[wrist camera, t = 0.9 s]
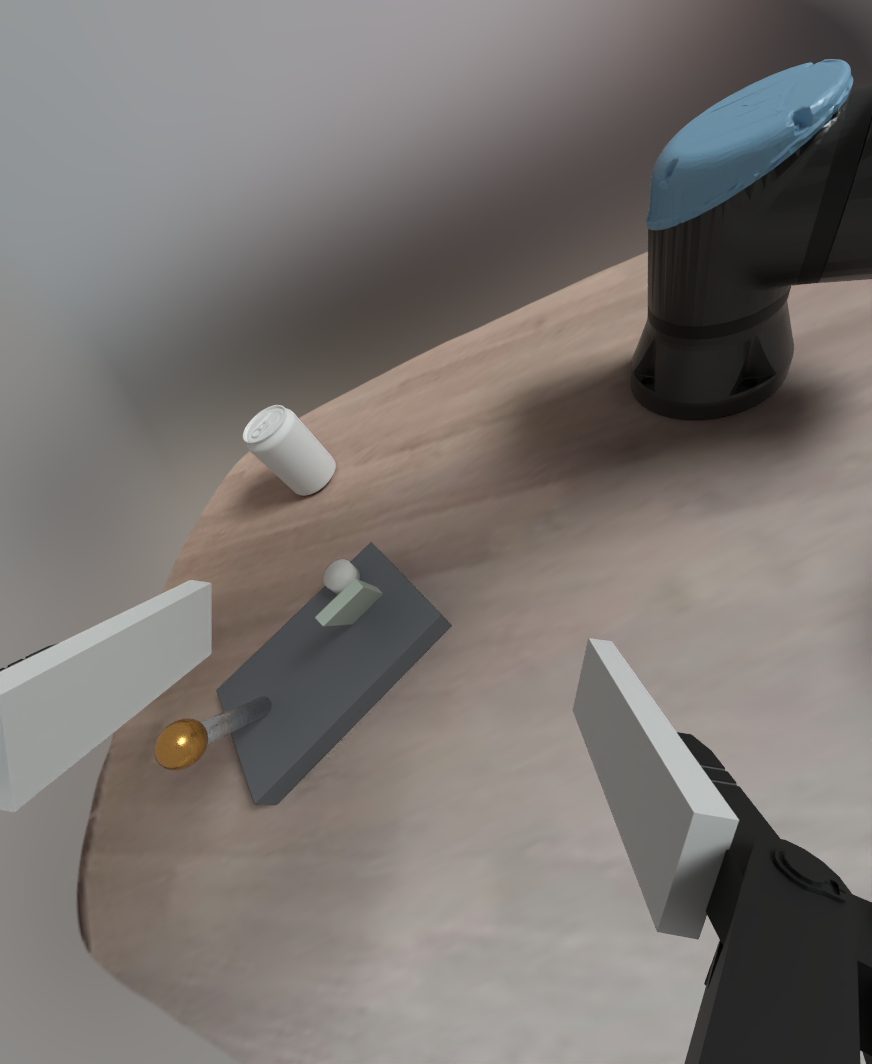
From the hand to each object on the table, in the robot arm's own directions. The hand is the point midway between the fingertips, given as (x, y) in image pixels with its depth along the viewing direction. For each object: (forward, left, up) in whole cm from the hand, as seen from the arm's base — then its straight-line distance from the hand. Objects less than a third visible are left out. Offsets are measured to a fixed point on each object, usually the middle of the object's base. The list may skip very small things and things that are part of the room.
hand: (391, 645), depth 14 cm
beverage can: (-19, -46, -26) cm, 56 cm away
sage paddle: (-4, -20, -22) cm, 30 cm away
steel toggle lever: (+9, -25, -22) cm, 35 cm away
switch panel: (+3, -23, -26) cm, 35 cm away
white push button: (-5, -24, -23) cm, 34 cm away
